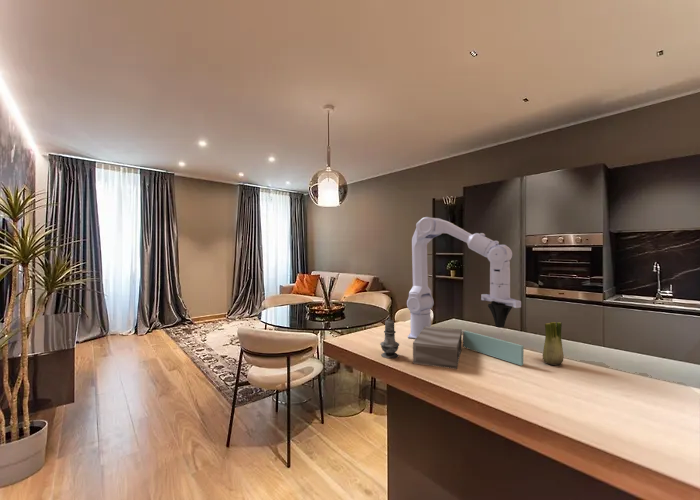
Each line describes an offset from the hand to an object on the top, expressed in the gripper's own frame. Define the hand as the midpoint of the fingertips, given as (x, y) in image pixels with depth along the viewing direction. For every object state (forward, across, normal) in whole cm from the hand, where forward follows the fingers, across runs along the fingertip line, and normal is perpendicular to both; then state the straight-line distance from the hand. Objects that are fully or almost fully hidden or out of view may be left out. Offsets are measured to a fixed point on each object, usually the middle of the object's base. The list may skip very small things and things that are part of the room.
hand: (499, 326), depth 102 cm
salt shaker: (+8, -9, -34) cm, 36 cm away
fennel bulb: (+8, +12, +7) cm, 17 cm away
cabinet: (+8, -5, -19) cm, 21 cm away
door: (+8, +1, -4) cm, 9 cm away
